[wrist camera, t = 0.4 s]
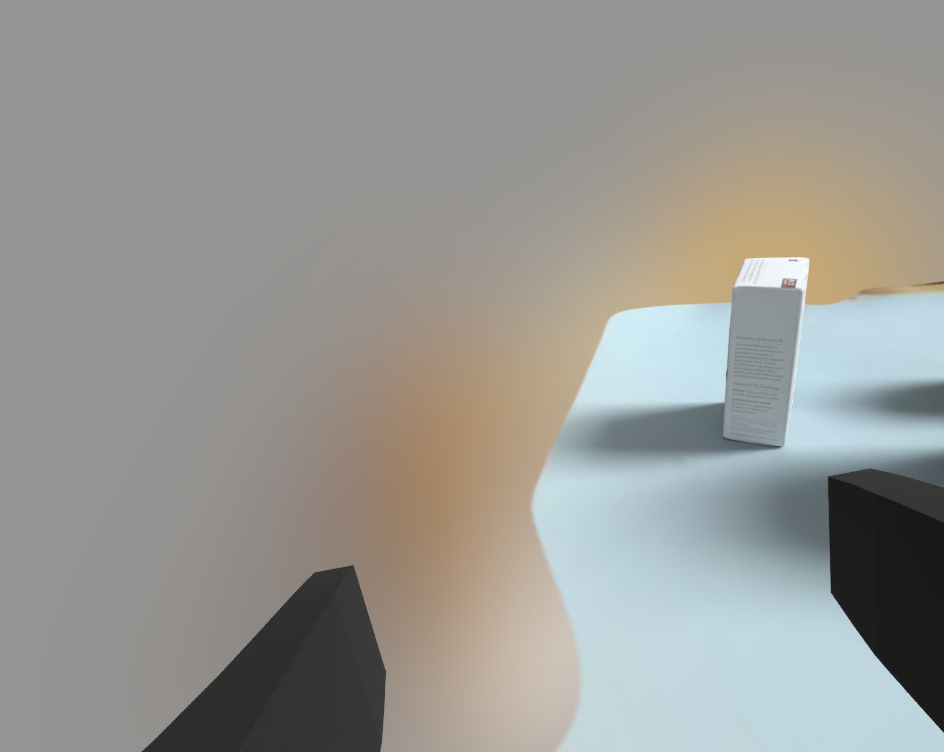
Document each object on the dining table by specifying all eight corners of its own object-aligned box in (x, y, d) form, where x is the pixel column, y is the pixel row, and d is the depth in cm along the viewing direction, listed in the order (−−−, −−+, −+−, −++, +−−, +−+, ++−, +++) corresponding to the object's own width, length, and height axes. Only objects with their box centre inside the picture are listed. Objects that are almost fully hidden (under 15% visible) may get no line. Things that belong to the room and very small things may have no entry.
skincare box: (733, 400, 48) (739, 255, 42) (796, 407, 45) (810, 255, 40) (720, 441, 43) (725, 284, 38) (789, 451, 41) (805, 285, 36)
